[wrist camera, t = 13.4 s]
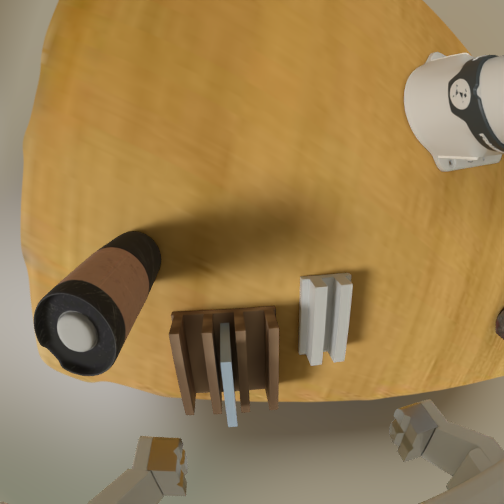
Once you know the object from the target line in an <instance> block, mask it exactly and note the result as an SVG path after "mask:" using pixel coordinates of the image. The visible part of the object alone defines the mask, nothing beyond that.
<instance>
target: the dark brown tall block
mask: <svg viewBox="0 0 504 504" xmlns="http://www.w3.org/2000/svg"><path fill="white" fill-rule="evenodd" d="M496 333H497V334H498V335H499V336H500V337H501V338H503V339H504V310H503V311H501V313H500V314H499V315H498V317H497V321H496Z"/></svg>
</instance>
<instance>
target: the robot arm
mask: <svg viewBox="0 0 504 504" xmlns="http://www.w3.org/2000/svg"><path fill="white" fill-rule="evenodd" d="M404 106H405V112H406V116H407V119H408V122H409V125H410V127H411V129H412V131H413V133H414V134H415V136H416V138H417V139H418V140H419V142H420V143H421V144H422V145H423V146H424V147H425V148H426V149H427V150H428V151H429V152H430V153H431V154H432V156H433V159H434V161H435V163H436V165H437V167H438V168H439V170H441V171H443V172H445V171H453V170H458V169H464V168H470V167H475V166H481V165H487V164H493V163H498V162H499V161H500V159H501V157H502V154H504V55H502V56H496V55H483V56H479V57H476V58H474V57H473V56H470V55H469V54H468V53H461V54H456V55H451V56H445V55H443V54H441V53H439V52H434V53H431V54H430V55H429V57H428V59H427V61H426V63H425V64H423V65H422V66H420V67H418V68H417V69H415V70H414V71H413V72H412V73H411V75H410V76H409V78H408V80H407V82H406V86H405V91H404ZM449 161H450V164H449ZM394 417H395V420H394V421H393V422H392V423H391V425H390V428H389V433H390V437H391V440H392V442H393V443H394V444H396V445H398V446H399V447H398V453H399V455H400V456H401V458H402V460H403V462H405V461H409V460H412V459H415V458H418V457H420V456H422V458H424V459H425V460H427V461H429V462H430V463H432V464H433V465H435V466H437V467H438V468H440V469H442V470H443V471H445V472H447V473H448V474H450V475H452V476H453V477H452V478H451V479H450V481H449V482H448V483H447V486H446V487H447V489H448V490H447V491H445V492H443V493H441V494H439V495H437V496H435V497H433V498H430V499H428V500H426V501H424V502H421V503H419V504H504V450H503V449H502V448H501V447H500V445H499V444H498V443H497V442H496V440H495V439H494V438H492V437H490V436H487V435H484V434H481V433H479V432H476V431H474V430H471V429H468V428H466V427H463V426H461V425H458V424H456V423H453V422H450V423H449V422H448V421H447V420H446V418H445V417H444V416H443V415H442V413H441V412H440V411H439V410H438V408H437V407H436V406H435V404H434V403H433V402H432V401H431V400H429V399H427V400H425V401H421V402H418V403H414V404H411V405H408V406H405V407H402V408H399V409H397V410H396V411H395V413H394ZM187 468H188V464H187V456H186V452H185V451H184V450H183V443H182V439H181V438H164V437H146V436H140V438H139V439H138V444H137V448H136V453H135V457H134V461H133V466H132V469H127V471H125V472H124V473H123V474H122V475H120V476H119V477H118V478H117V479H116V480H115V481H113V482H112V483H111V484H110V485H109V486H107V487H106V488H105V489H104V490H103V491H102V492H100V493H99V494H98V495H97V496H95V497H94V498H93V499H92V500H91V501H89V502H88V504H158V503H159V502H160V501H161V499H162V498H163V497H164V495H165V496H186V488H187V481H186V479H185V475H186V474H187ZM0 504H8V503H5V502H0Z"/></svg>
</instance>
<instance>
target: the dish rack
mask: <svg viewBox="0 0 504 504" xmlns="http://www.w3.org/2000/svg"><path fill="white" fill-rule="evenodd" d="M171 317H172V325H171V328H170V332H169V338H170V344H171V349H172V354H173V359H174V364H175V369H176V374H177V378H178V383H179V388H180V392H181V396H182V401H183V405H184V409H185V413H186V415H194V409H195V397H196V393H206V392H210V395H211V401H212V408H213V413H214V414H222V393H221V392H224V389H223V381H222V372H221V363H220V323H229V328H230V340H231V352H232V364H233V375H234V387H235V391H240V401H241V411H242V413H243V412H244V413H245V412H250V402H249V390H255V389H266V394H267V399H268V404H269V409H270V410H277V409H278V382H279V326H278V323H277V320H276V308H275V306H266V307H253V308H239V309H223V310H205V311H184V312H172V314H171Z"/></svg>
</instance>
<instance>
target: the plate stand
mask: <svg viewBox="0 0 504 504" xmlns="http://www.w3.org/2000/svg"><path fill="white" fill-rule="evenodd" d="M352 288H353V284H352V283H351V274H349V273H340V274H328V275H316V276H303V277H300V307H299V336H298V353H299V355H302V354H306V355H307V358H308V360H309V363H310V365H311V366H313V365H320V364H322V357H323V352H325V351H328V353H329V354H330V356H331V358H332V360H333V362H340V361H344V359H345V352H346V344H347V336H348V328H349V319H350V310H351V299H352Z"/></svg>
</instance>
